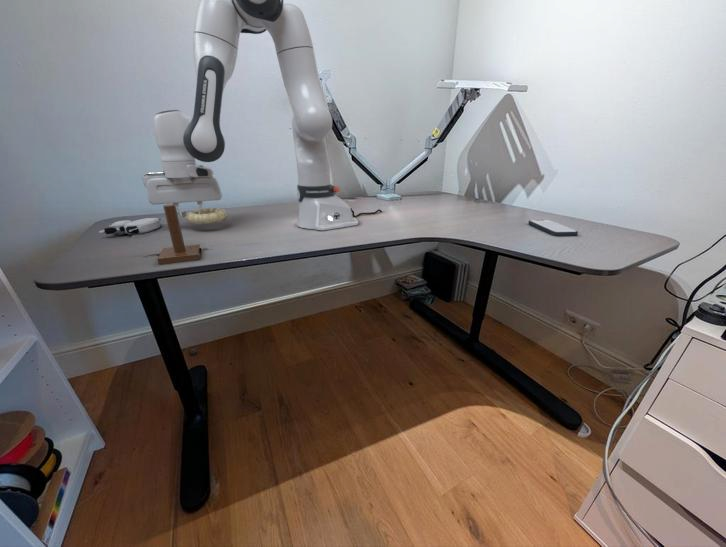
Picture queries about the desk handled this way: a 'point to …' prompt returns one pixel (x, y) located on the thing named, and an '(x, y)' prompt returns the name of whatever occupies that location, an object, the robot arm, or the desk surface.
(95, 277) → the desk surface
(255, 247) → the desk surface
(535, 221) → the phone case
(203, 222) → the cream ring
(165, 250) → the stand
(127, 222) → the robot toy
